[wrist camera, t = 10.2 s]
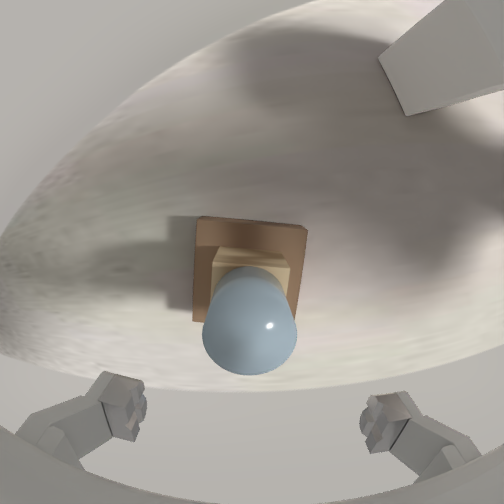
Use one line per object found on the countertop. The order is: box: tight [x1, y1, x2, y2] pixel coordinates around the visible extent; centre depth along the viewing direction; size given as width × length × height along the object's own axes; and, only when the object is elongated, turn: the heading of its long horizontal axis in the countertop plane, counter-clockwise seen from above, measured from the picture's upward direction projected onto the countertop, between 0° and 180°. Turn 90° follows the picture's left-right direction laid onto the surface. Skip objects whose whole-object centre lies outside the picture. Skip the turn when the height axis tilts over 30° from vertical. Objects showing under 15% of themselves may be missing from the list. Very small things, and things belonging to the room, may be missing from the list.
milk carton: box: [378, 0, 504, 116], centre depth 13 cm, size 7×7×19 cm
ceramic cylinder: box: [202, 266, 297, 375], centre depth 16 cm, size 5×5×5 cm
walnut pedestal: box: [192, 216, 308, 323], centre depth 25 cm, size 9×9×3 cm
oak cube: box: [210, 246, 290, 302], centre depth 21 cm, size 5×5×5 cm
